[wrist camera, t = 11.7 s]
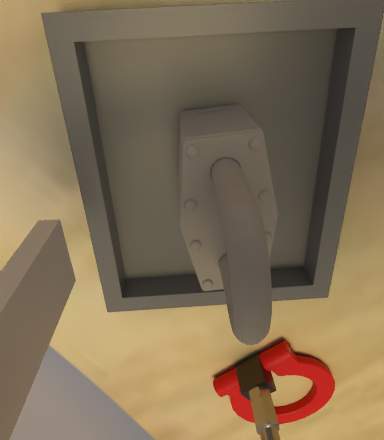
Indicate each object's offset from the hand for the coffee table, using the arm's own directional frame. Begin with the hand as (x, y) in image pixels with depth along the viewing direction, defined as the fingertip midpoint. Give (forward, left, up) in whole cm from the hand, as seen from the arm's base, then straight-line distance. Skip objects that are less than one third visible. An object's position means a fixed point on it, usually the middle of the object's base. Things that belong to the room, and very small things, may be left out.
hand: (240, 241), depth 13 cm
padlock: (0, 0, -6) cm, 6 cm away
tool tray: (0, 0, -7) cm, 7 cm away
